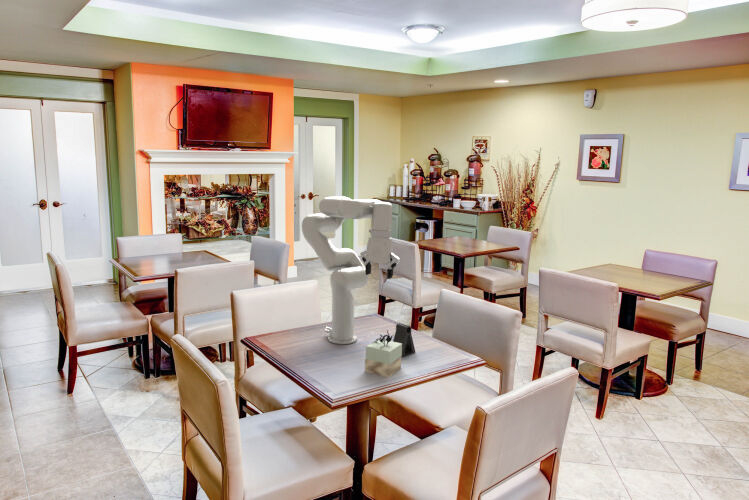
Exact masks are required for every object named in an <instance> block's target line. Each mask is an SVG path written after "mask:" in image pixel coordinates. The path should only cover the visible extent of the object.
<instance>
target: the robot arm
mask: <svg viewBox="0 0 749 500" xmlns="http://www.w3.org/2000/svg"><path fill="white" fill-rule="evenodd" d="M318 209H319V211H320V213H311V214H308V215H306V216H304V217H303V219H302V221H301V231H302V235H303V238H304V239H305V240H306V243H308V245H309V246H310V247H311V248H312V250H313V251H314V252H315V254H316V256H317V257H318V259H319V260H320V263H321V264H322V265H323V267H324V269H326V270H327V271H328V272H332V273H331V275H330V277H329V282H330V288H331V299H332V300H331V327H330V326H325V328H324V333H328V334H329V335H328V336H327V341H329V342H330V343H333V344H336V345H349V344H353V343H356V341H358V336H357V335H356V334H354V333H355V332H354V331H355V330H354V326H355V325H354V324H355V298H354V296H353V294H352V293H351V290H356V289H361V288H363V287H366V286H367V285H368V283H369V281H370V278H369V277H370V276H369V275H371V274H372V263H375V264H381V265H386V266H387V270H386V271H387V272H386V279H387V280H390V279H392V278H393V276H394V269H395V268H396V267H397V265H399V263H400V261H401V259H400V257H399V256H397V255H396V254H394V244H393V238H392V237H391V233H392V221H393V220H392V218H393V205H392V203H391V202H388V201H382V200H379V199H376V198H375V199H374V198H372V199H371V198H367V199H352V198H350V197H347V196H344V195H337V196H325V197H323V198H322V199H321V200H320V201H319V203H318ZM347 219H349V220H364V219H371V228H369V230H368V232H369V233H370V236H368V241H367V244H366V250H364V251H362V252H360V257H361V259H360V258H359V256H358V254H357V253H356V252H355V251H354V250H353V249H351V248H348V247H342V248H337V247H336V246H335V245H334V244H333V242H332V240H331V239H330V238H328V236H326V235H325V234H323V233H328V232H335V231H337V230H338V229H340V227H341V226H342V224H343V223H344V222H345V221H346V220H347ZM362 261H363V262H362ZM393 261H394V262H393Z"/></svg>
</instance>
